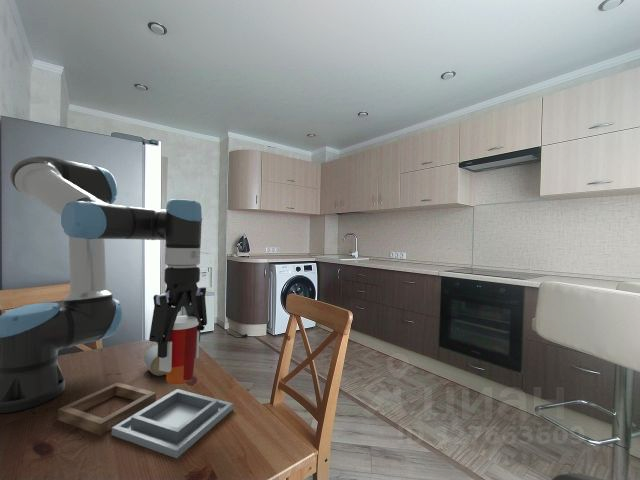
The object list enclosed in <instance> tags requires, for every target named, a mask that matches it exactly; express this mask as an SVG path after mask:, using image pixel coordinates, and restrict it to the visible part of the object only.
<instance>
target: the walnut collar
mask: <svg viewBox="0 0 640 480" xmlns="http://www.w3.org/2000/svg"><path fill="white" fill-rule="evenodd" d="M114 396H118V397H121V398H124V399H129V400H131V401H132V402H130V403H129V404H127V405H125V406H123V407H121V408H120V409H118V410H116V411H113V413H112V412H111V413H110V414H109V415H107V416H105V417H100V416H97V415H94V414H91V413H88V412H85V411H86V410H88V409H91V408H92V407H94V406H97V405H98V404H101V403H103V402H104V401H106V400H108V399H111V398H112V397H114ZM156 401H157V392H154V391H151V390H147V389H144V388H140V387H137V386H133V385H129V384H126V383H121V382H118V381H117V382H115V383H113V384H110V385H109V386H107V387H104V388H102V389H100V390H98V391H95V392H93V393H90V394H89V395H86V396H84V397H82V398H79V399H77V400H76V401H72V402H71V403H68V404H67V405H64V406H62V407H59V408H58V413H57V421H60V422H61V423H62V422H63V423H65V424H68V425H70V426H74V427H75V428H79V429H81V430H84V431H87V432H90V433H92V434H95V435H98V436H103V435H104V434H105V433H107V432H109V431H111V430H112V427H114V426H115V425H117V424H119V423H121V422H122V421H124V420H126V419H127V418H129V417H131V416H132V415H134V414H136V413H137V412H139V411H141V410H142V409H144V408H146V407H148V406H149V405H151V404H153V403H154V402H156Z"/></svg>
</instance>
